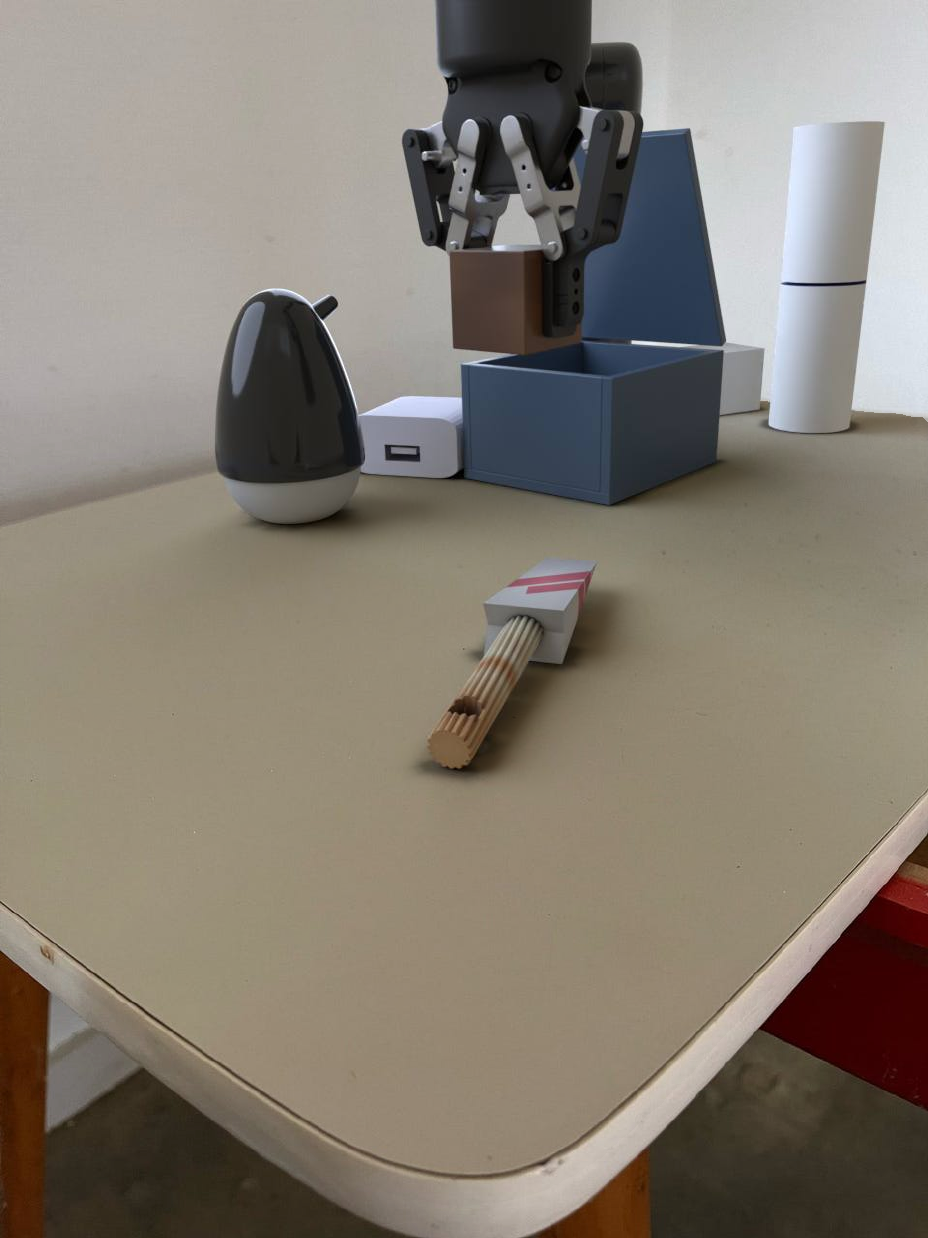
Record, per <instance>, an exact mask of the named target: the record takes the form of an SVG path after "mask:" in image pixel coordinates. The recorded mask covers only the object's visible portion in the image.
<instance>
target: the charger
mask: <svg viewBox="0 0 928 1238" xmlns="http://www.w3.org/2000/svg"><path fill="white" fill-rule="evenodd" d="M358 415H359V419H360V424H361V429H362V434H363V439H364V447H365V462H364V464H363V465H362V466H361V471H360V473H364V474H369V475H380V476H381V475H382V476H397V477H398V476H399V477H414V478H415V477H417V478H431V479H446V478H449V477H452V476H454V475H455V474H457V473H458V472H460V471H461V470H464V449H463V419H462V397H450V396H449V397H448V396H422V395H421V396H419V395H406V396H405V395H404V396H401V397H398V398H395V399H393V400H391V401H388V402H386V403H384V404H381V405H380V406H376V407H375V408H373V409H370V410H368V411H366V412H363V413H361V414H358Z"/></svg>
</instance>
